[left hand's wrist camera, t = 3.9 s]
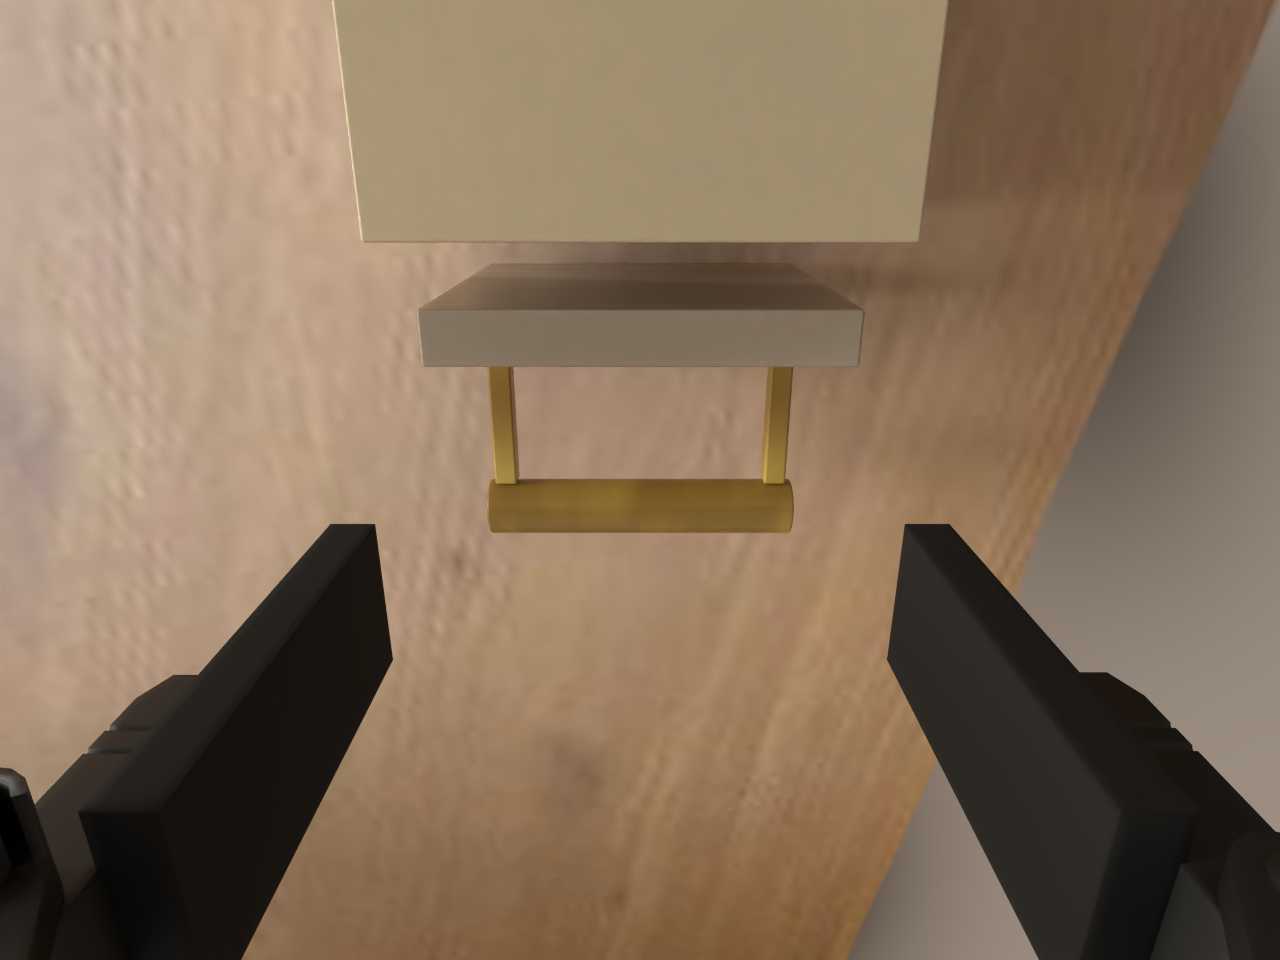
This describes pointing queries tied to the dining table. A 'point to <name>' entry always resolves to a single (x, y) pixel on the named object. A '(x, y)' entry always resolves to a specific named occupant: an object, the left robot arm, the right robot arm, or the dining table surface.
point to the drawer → (640, 337)
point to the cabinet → (640, 119)
